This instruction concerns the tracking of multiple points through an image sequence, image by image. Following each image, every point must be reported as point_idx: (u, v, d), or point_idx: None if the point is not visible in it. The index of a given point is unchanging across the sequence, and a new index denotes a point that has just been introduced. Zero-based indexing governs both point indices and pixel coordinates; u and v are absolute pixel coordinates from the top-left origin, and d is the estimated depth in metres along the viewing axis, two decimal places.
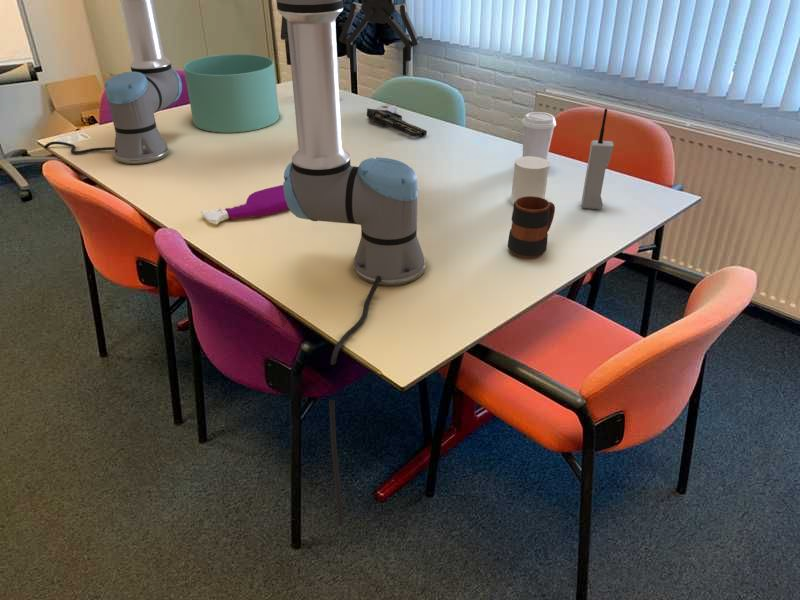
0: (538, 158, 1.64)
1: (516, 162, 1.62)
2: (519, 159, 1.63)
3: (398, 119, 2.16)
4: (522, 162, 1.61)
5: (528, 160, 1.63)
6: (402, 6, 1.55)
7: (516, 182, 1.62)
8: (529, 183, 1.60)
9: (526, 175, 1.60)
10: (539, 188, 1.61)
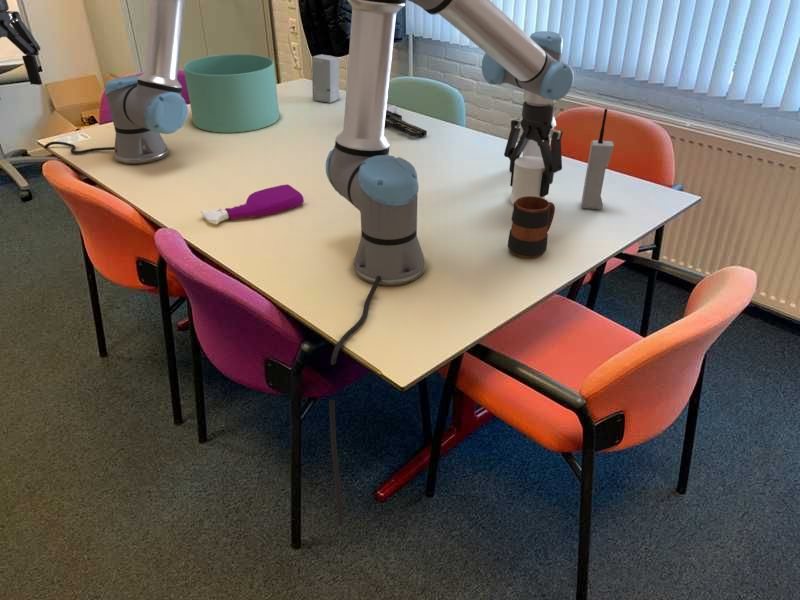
0: (538, 158, 1.64)
1: (516, 162, 1.62)
2: (519, 159, 1.63)
3: (398, 119, 2.16)
4: (522, 162, 1.61)
5: (528, 160, 1.63)
6: (555, 133, 1.52)
7: (516, 182, 1.62)
8: (529, 183, 1.60)
9: (526, 175, 1.60)
10: (539, 188, 1.61)
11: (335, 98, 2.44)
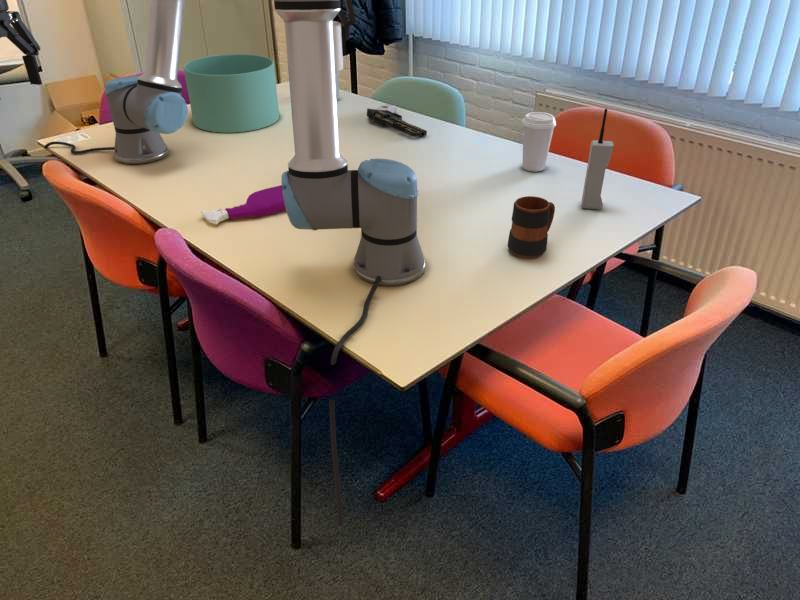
0: None
1: None
2: None
3: (398, 119, 2.16)
4: None
5: None
6: None
7: None
8: (337, 42, 1.61)
9: (333, 35, 1.60)
10: None
11: None
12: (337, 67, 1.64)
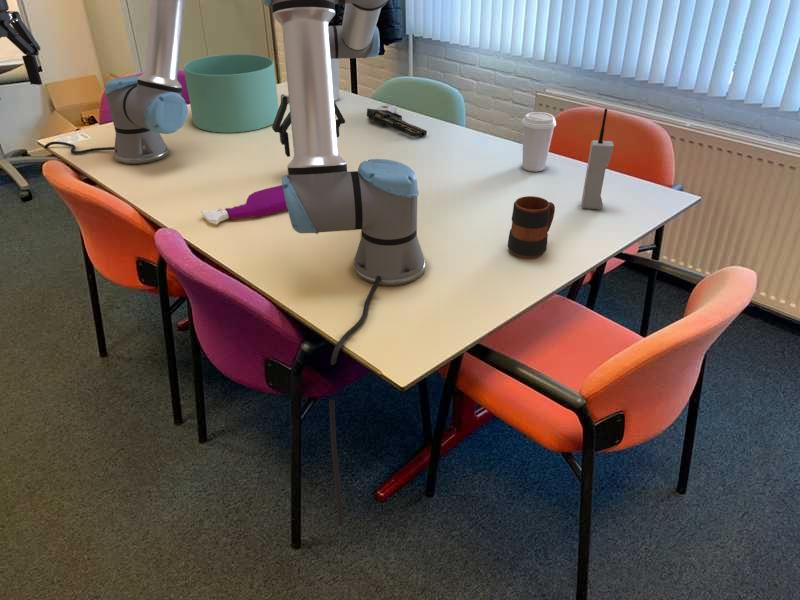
0: None
1: None
2: None
3: (398, 119, 2.16)
4: None
5: None
6: None
7: None
8: None
9: None
10: None
11: (335, 98, 2.44)
12: None
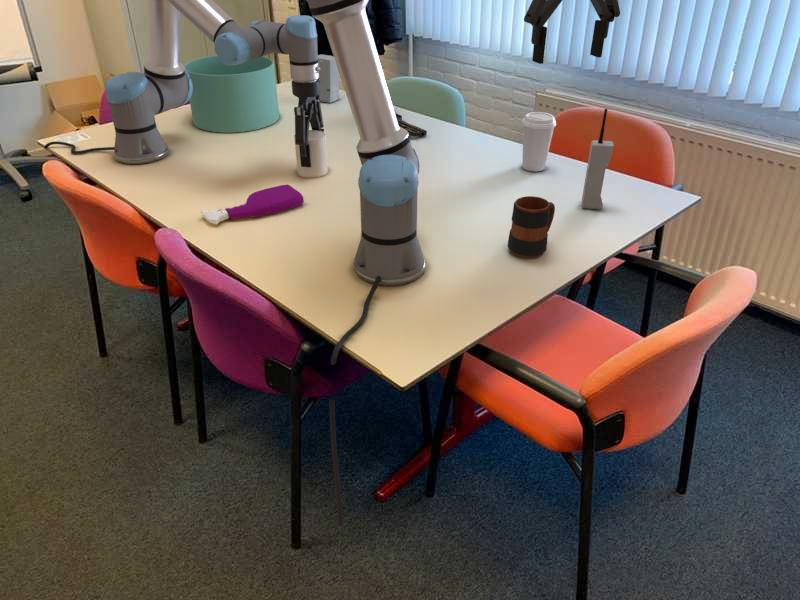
0: None
1: None
2: None
3: (398, 119, 2.16)
4: None
5: None
6: None
7: (311, 156, 1.78)
8: (322, 151, 1.79)
9: (319, 145, 1.78)
10: (326, 153, 1.82)
11: (335, 98, 2.44)
12: (323, 172, 1.82)
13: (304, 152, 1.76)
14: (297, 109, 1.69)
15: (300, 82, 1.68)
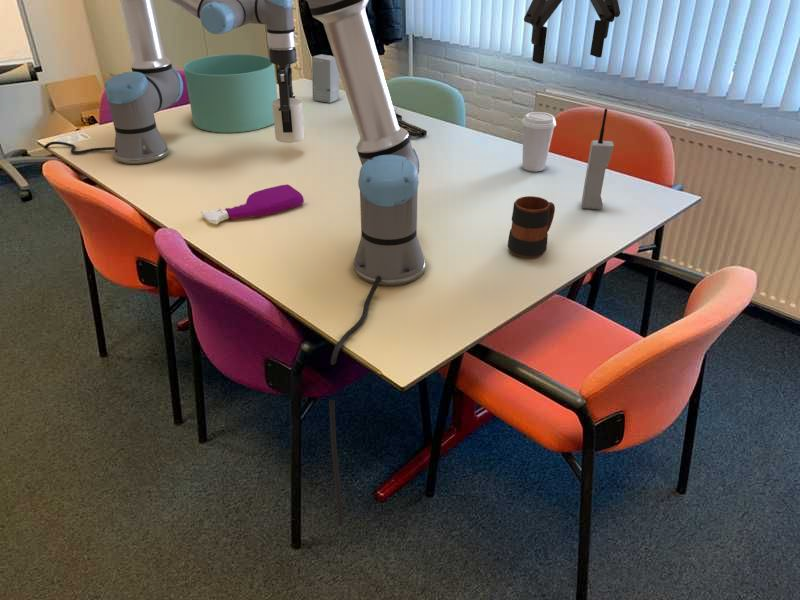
0: (279, 99, 1.90)
1: None
2: (277, 104, 1.86)
3: (398, 119, 2.16)
4: None
5: None
6: None
7: (292, 121, 1.88)
8: (301, 116, 1.90)
9: (299, 111, 1.88)
10: None
11: (335, 98, 2.44)
12: (302, 136, 1.93)
13: (287, 117, 1.85)
14: (281, 76, 1.78)
15: (280, 50, 1.78)
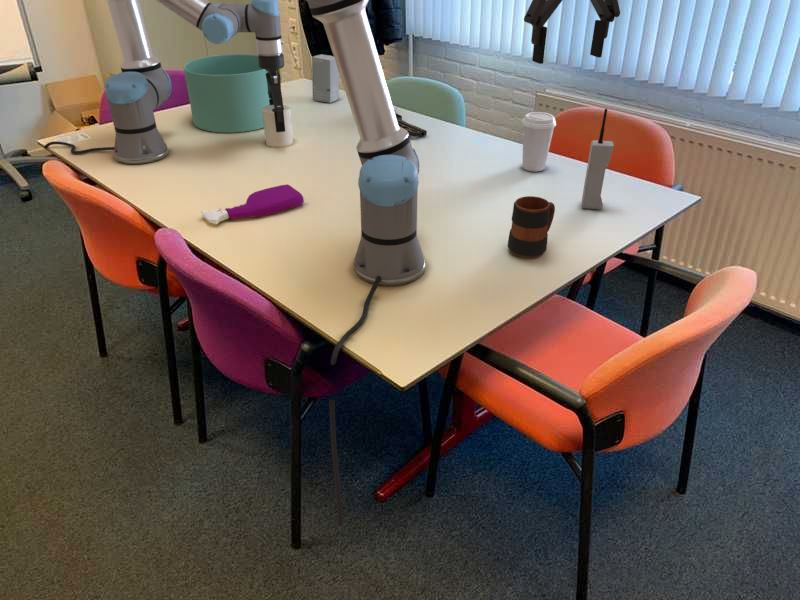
0: (267, 106, 2.01)
1: None
2: (269, 111, 1.97)
3: (398, 119, 2.16)
4: None
5: (270, 109, 1.99)
6: None
7: None
8: (290, 121, 2.02)
9: (289, 116, 2.00)
10: None
11: (335, 98, 2.44)
12: (292, 140, 2.05)
13: (281, 117, 1.94)
14: (274, 77, 1.89)
15: (271, 55, 1.89)
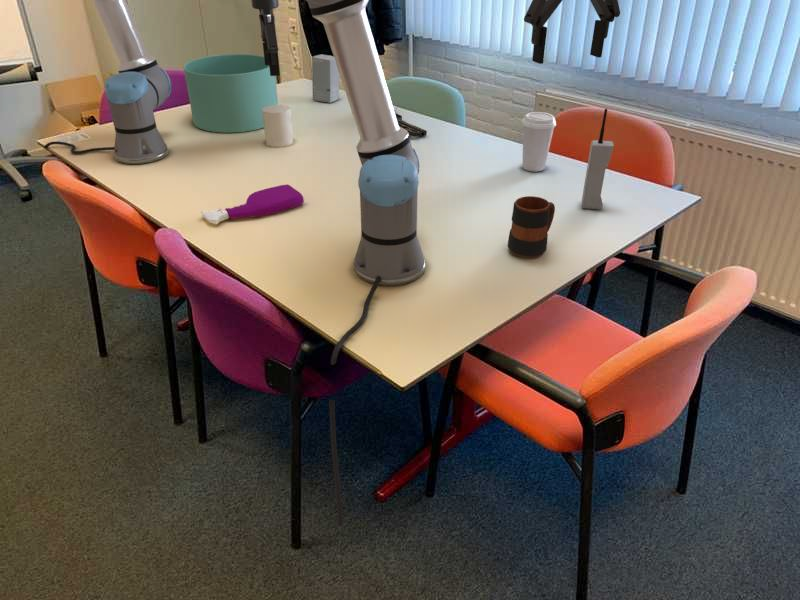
0: (267, 106, 2.01)
1: (276, 112, 1.97)
2: (269, 111, 1.97)
3: (398, 119, 2.16)
4: (276, 110, 1.98)
5: (270, 109, 1.99)
6: None
7: (284, 126, 2.00)
8: (290, 121, 2.02)
9: (289, 116, 2.00)
10: None
11: (335, 98, 2.44)
12: (292, 140, 2.05)
13: (275, 59, 1.85)
14: (268, 16, 1.79)
15: None
